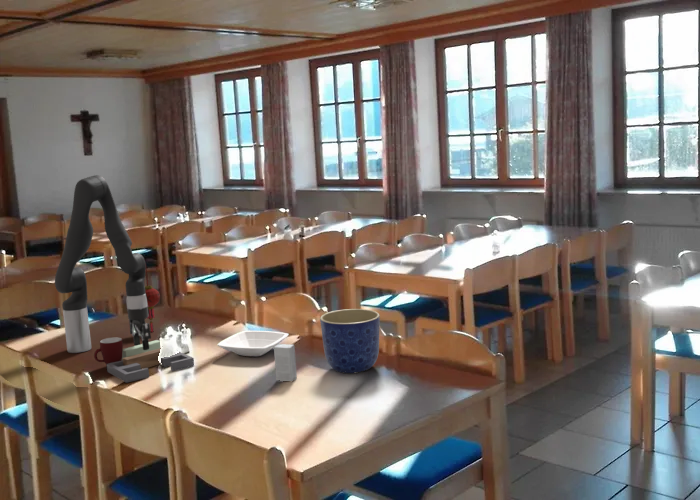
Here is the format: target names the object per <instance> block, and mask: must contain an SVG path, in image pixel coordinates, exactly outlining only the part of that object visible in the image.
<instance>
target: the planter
mask: <svg viewBox="0 0 700 500" xmlns="http://www.w3.org/2000/svg"><path fill="white" fill-rule="evenodd" d="M380 316H381V315H380V313H379V312H377V311H376V310H372V309H363V308H349V309H347V308H346V309H339V310H332V311H329V312H326V313H324V314H322V315H321V316H320V317H319V320H320V322H319V323H320V327H321V330H320V331H321V336H322V337H321V338H322V344H323V345H322V346H323V350H324V351H323V352H324V356H325V360H326V361H327V364H328V365H329V366H330V368H332V369H333V370H334V371H337V372H339V373H342V372H344V373H343V374H355V373H354V372H359V373H362V372H361V371H363V372H366V371H368V370H369V369H371V368H372V367H373V366H374V365H375V364H376V363H377V360H378V356H379V351H380V329H381V327H380V326H381V325H380V321H381V320H380V319H381V317H380ZM367 369H368V370H367ZM365 370H366V371H365Z"/></svg>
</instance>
